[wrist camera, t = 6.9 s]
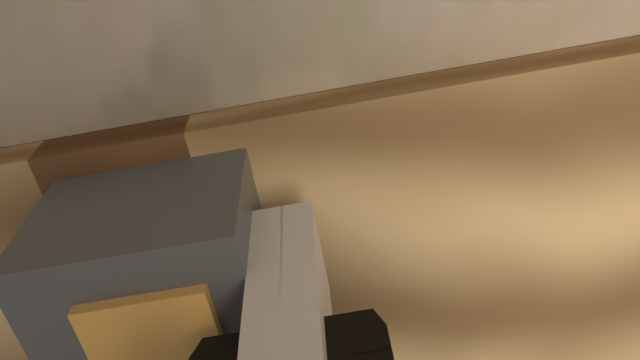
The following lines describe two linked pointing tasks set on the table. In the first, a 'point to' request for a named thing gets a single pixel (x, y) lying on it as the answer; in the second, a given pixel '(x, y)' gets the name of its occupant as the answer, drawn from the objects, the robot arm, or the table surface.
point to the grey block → (132, 261)
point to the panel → (431, 198)
